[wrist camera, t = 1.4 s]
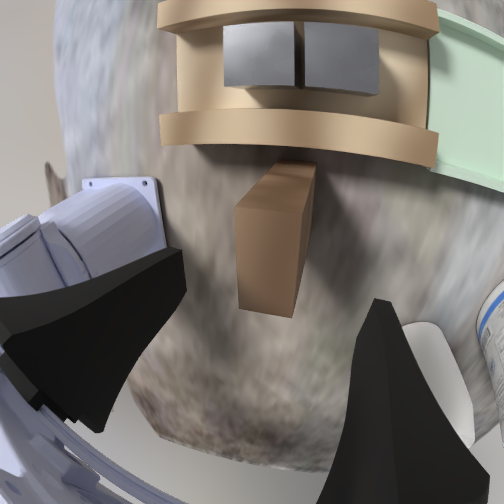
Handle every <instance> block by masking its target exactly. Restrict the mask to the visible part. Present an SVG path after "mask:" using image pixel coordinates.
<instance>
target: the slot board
mask: <svg viewBox="0 0 504 504" xmlns="http://www.w3.org/2000/svg"><path fill="white" fill-rule="evenodd" d="M263 22H294V23H295V25H296V27H297V29H298V32H299V34H300V36H301V38H302V90H289V89H246V90H245V89H238V88H230V87H224V61H223V26H230V25H239V24H249V23H263ZM304 22H320V23H334V24H344V25H352V26H360V27H366V28H372V29H378V35H379V95H376V96H372V97H364V96H358V95H350V94H342V93H333V92H323V91H310V90H309V89H308V88H307V87H305V31H304ZM157 29H161V30H164V31H168V32H171V33H174V34H177V86H178V110H179V112H177V113H170V114H163V115H159V123H160V136H161V146H164V145H184V144H260V145H280V146H295V147H307V148H317V149H327V150H335V151H343V152H351V153H358V154H365V155H371V156H377V157H383V158H388V159H394V160H399V161H404V162H409V163H414V164H418V165H423V166H427V167H431V168H435V162H436V155H437V148H438V139H439V133H437V132H434V131H431V130H428V129H425V127H426V115H427V96H428V56H427V40H428V39H430V38H431V37H433V36H435V35H436V34H438V33H440V28H439V20H438V12H437V6H436V3H433V2H430V1H427V0H168V1H164V2H161V3H158V18H157Z"/></svg>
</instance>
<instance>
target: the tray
mask: <svg viewBox="0 0 504 504" xmlns="http://www.w3.org/2000/svg"><path fill="white" fill-rule="evenodd" d="M437 12H438V20H439V28H440V33H438V34H436V35H435V36H433V37H431V38H430V39H428V40H427V45H428V108H427V122H426V129H428V130H431V131H434V132H437V133H439V139H438V148H437V155H436V162H435V168H431V167H427V166H424V167H425V168H426V169H428V170H429V171H431V172H435V173H439V174H443V175H447V176H451V177H455V178H458V179H462V180H465V181H469V182H472V183H476V184H479V185H482V186H485V187H488V188H491V189H494V190H497V191H500V192H503V193H504V38H502V37H500V36H498V35H497V34H495V33H493V32H491V31H489V30H487V29H485V28H483V27H481V26H479V25H477V24H475V23H473V22H471V21H468V20H466V19H464V18H461V17H459V16H457V15H454V14H452V13H449V12H446V11H444V10H441V9H438V8H437ZM422 166H423V165H422Z"/></svg>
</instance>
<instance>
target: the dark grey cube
mask: <svg viewBox="0 0 504 504" xmlns="http://www.w3.org/2000/svg"><path fill="white" fill-rule="evenodd" d="M304 31H305V87H307V88H308V89H309V90H310V91H323V92H333V93H342V94H350V95H358V96H364V97H372V96H376V95H379V35H378V29H372V28H366V27H360V26H352V25H344V24H334V23H320V22H304Z"/></svg>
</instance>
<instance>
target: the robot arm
mask: <svg viewBox="0 0 504 504" xmlns="http://www.w3.org/2000/svg"><path fill="white" fill-rule="evenodd" d="M145 181H146V182H147V185H146V183H145ZM82 187H83V190H82V191H80V192H78V193H76V194H75V195H73V196H71V197H69V198H67V199H65V200H64V201H62V202H60V203H58V204H57V205H55V206H53V207H51V208H50V209H48V210H46V211H45V212H43V213H42V214H41V215H40V216H39V217H36V216H35V217H33V216H32V215H30V214H26V215H24V216H21V217H19V218H18V219H16V220H14V221H12V222H11V223H9V224H7V225H6V226H4V227H3V228H1V229H0V504H132V503H131V502H129V501H127V500H125V499H124V498H122V497H121V496H119V495H117V494H115V493H114V492H112V491H111V490H109V489H108V488H106V487H105V486H103V485H101V484H100V483H99V482H98V481H99V480H100V476H99V475H98V474H97V473H96V472H95V471H97V472H98V473H99V474H101V475H102V476H103V477H105V478H106V479H108V480H109V481H110V482H112V483H114V484H115V485H116V486H118V487H119V488H121V489H122V490H124V491H126V492H127V493H128V494H130V495H132V496H133V497H135V498H137V499H138V500H140V501H142V502H143V503H145V504H187V503H185V502H183V501H181V500H179V499H177V498H175V497H173V496H170V495H169V494H167V493H165V492H163V491H161V490H159V489H157V488H155V487H153V486H151V485H150V484H148V483H146V482H144V481H143V480H141V479H139V478H138V477H136V476H134V475H133V474H131V473H129V472H128V471H126V470H125V469H123V468H122V467H120V466H119V465H117V464H116V463H114V462H113V461H111V460H110V459H109V458H107V457H106V456H104V455H103V454H102V453H100V452H99V451H98V450H96V449H95V448H94V447H92V446H91V445H90V444H89V443H87V442H86V441H85V440H83V439H82V438H81V437H80V436H79V435H77V434H76V433H75V432H74V431H73V430H72V429H70V427H68V426H67V425H66V424H65V423H64V421H65V420H66V419H67V418H68V419H70V420H71V421H72V422H73V423H76V421H77V420H80V422H82V423H83V424H84V425H85V426H87V427H88V428H89V429H90V430H92V431H93V432H94V433H101V432H103V431H104V428H105V424H106V422H107V419H108V417H109V414H110V412H111V409H112V407H113V405H114V403H115V400H116V398H117V396H118V394H119V392H120V390H121V388H122V386H123V384H124V382H125V381H126V379H127V377H128V375H129V373H130V372H131V370H132V368H133V367H134V365H135V363H136V362H137V360H138V358H139V357H140V355H141V354H142V352H143V351H144V350H145V348H146V347H147V346H148V344H149V343H150V342H151V341H152V339H153V338H154V337H155V336H156V334H157V333H158V332H159V331H160V329H161V328H162V327H163V326H164V324H165V323H166V322H167V321H168V319H169V318H170V317H171V315H172V314H173V313H174V311H175V310H176V308H177V307H178V305H179V304H180V302H181V300H182V298H183V297H184V295H185V293H186V291H187V288H186V281H185V273H184V265H183V256H182V250H180V249H176V248H172V247H167V244H166V239H165V233H164V227H163V221H162V215H161V208H160V202H159V195H158V187H157V181H156V179H155V178H154V177H108V178H88V179H84V180H83V181H82ZM64 445H65V446H67V447H68V448H69V449H70V450H71V451H72V452H73V453H74V454H76V455H77V456H78V457H79V458H80V459H81V460H80V459H79V458H77V457H75V456H74V455H73V454H71V453H69V452H68V451H67V450H65V449H64ZM82 460H83V461H84V462H85V463H84V462H83V461H82ZM87 464H88V465H89V466H88V465H87ZM92 468H93V469H94V470H95V471H94V470H93V469H92ZM489 482H490V475H489V474H488V473H487V472H486V470H485V469H484V468H483V467H482V466H481V464H480V463H479V462H478V461H477V460H476V459H475V457H474V456H473V455H472V454H471V452H470V451H469V449H468V448H467V447H466V445H465V444H464V443H463V441H462V440H461V439H460V437H459V436H458V434H457V433H456V431H455V430H454V428H453V427H452V425H451V423H450V422H449V420H448V419H447V417H446V415H445V414H444V412H443V411H442V409H441V407H440V406H439V404H438V402H437V400H436V398H435V396H434V395H433V393H432V391H431V389H430V387H429V386H428V384H427V382H426V380H425V378H424V376H423V374H422V371H421V369H420V367H419V365H418V363H417V361H416V359H415V357H414V354H413V352H412V350H411V347H410V345H409V343H408V341H407V338H406V336H405V334H404V331H403V329H402V327H401V324H400V322H399V320H398V317H397V315H396V313H395V310H394V308H393V306H392V304H391V302H389V301H385V300H380V299H376V298H374V300H373V303H372V305H371V307H370V310H369V312H368V314H367V317H366V319H365V321H364V323H363V325H362V328H361V330H360V332H359V334H358V336H357V339H356V344H355V349H354V355H353V360H352V367H351V378H350V387H349V396H348V404H347V412H346V418H345V423H344V428H343V432H342V435H341V439H340V442H339V446H338V449H337V452H336V455H335V458H334V461H333V464H332V467H331V470H330V472H329V475H328V478H327V480H326V482H325V485H324V487H323V490H322V492H321V494H320V496H319V499H318V501H317V503H316V504H487V503H488V494H489Z"/></svg>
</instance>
